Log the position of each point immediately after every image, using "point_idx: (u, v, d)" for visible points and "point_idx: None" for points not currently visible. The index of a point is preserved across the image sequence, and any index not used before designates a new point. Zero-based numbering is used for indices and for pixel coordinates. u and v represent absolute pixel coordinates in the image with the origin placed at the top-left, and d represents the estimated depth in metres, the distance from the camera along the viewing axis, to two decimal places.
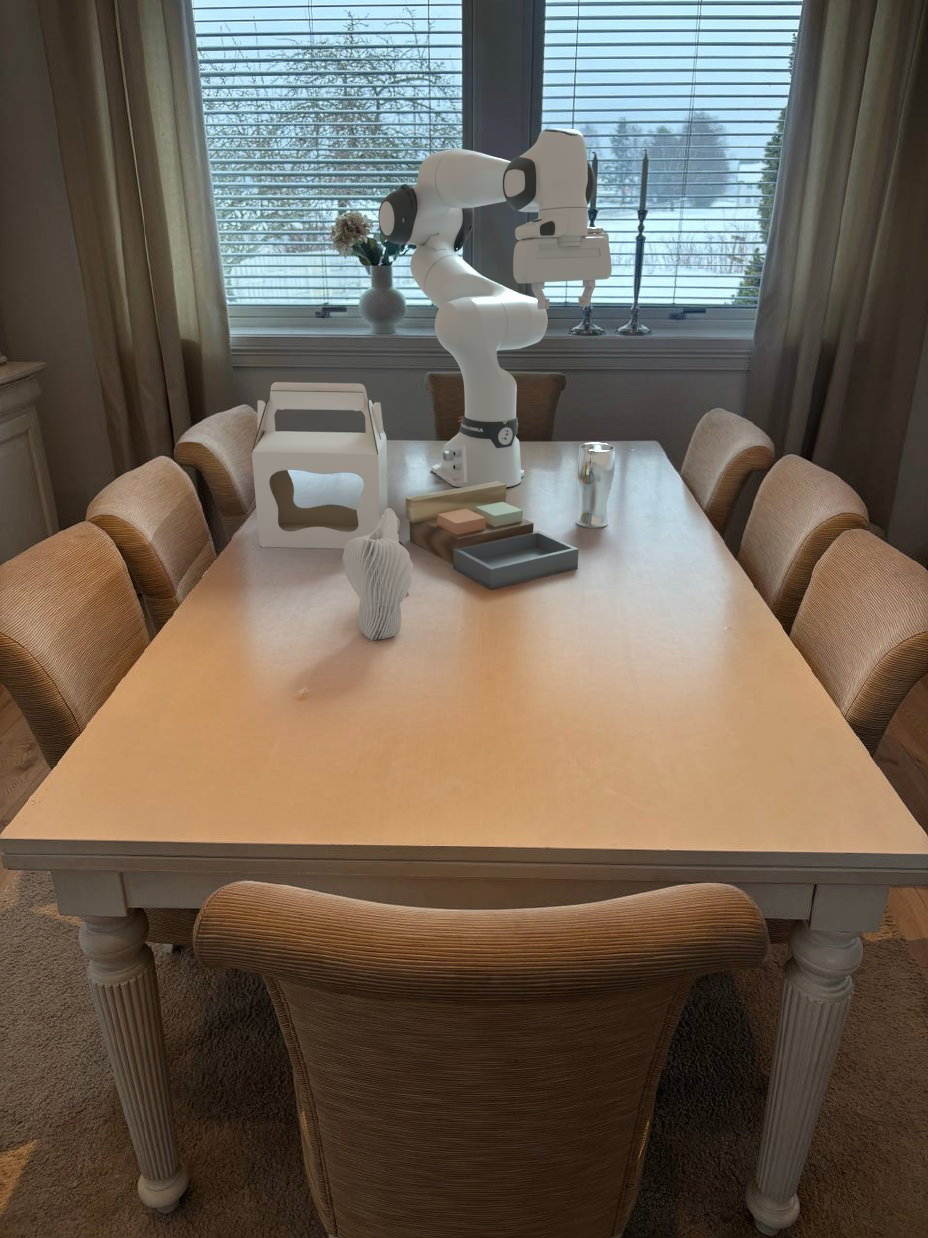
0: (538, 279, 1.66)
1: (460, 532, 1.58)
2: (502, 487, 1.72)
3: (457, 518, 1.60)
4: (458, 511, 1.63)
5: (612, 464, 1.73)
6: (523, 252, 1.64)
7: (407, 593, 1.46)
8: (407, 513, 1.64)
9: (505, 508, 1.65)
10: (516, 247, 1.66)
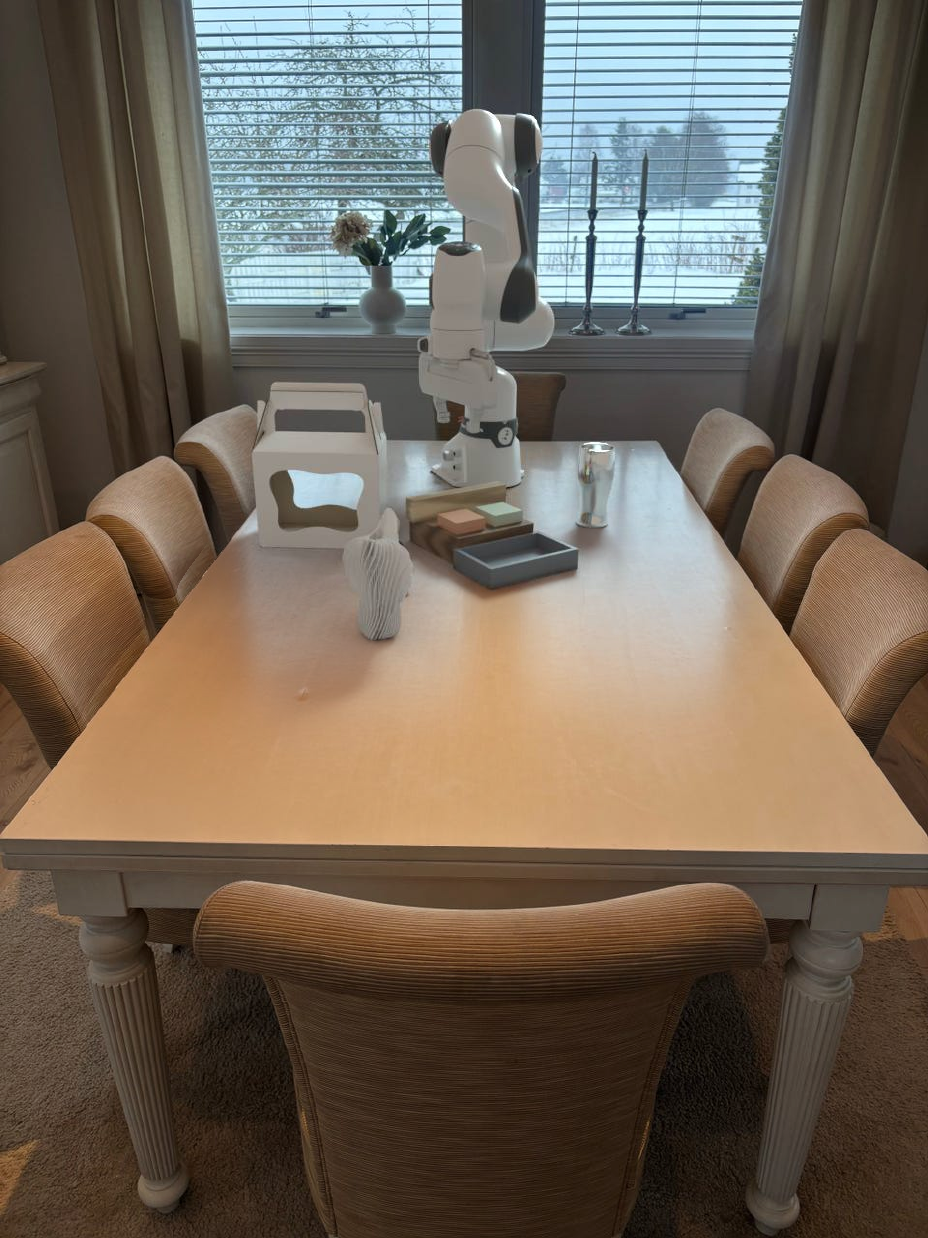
0: (428, 392, 1.65)
1: (460, 532, 1.58)
2: (502, 487, 1.72)
3: (457, 518, 1.60)
4: (458, 511, 1.63)
5: (612, 464, 1.73)
6: None
7: (407, 593, 1.46)
8: (407, 513, 1.64)
9: (505, 508, 1.65)
10: None
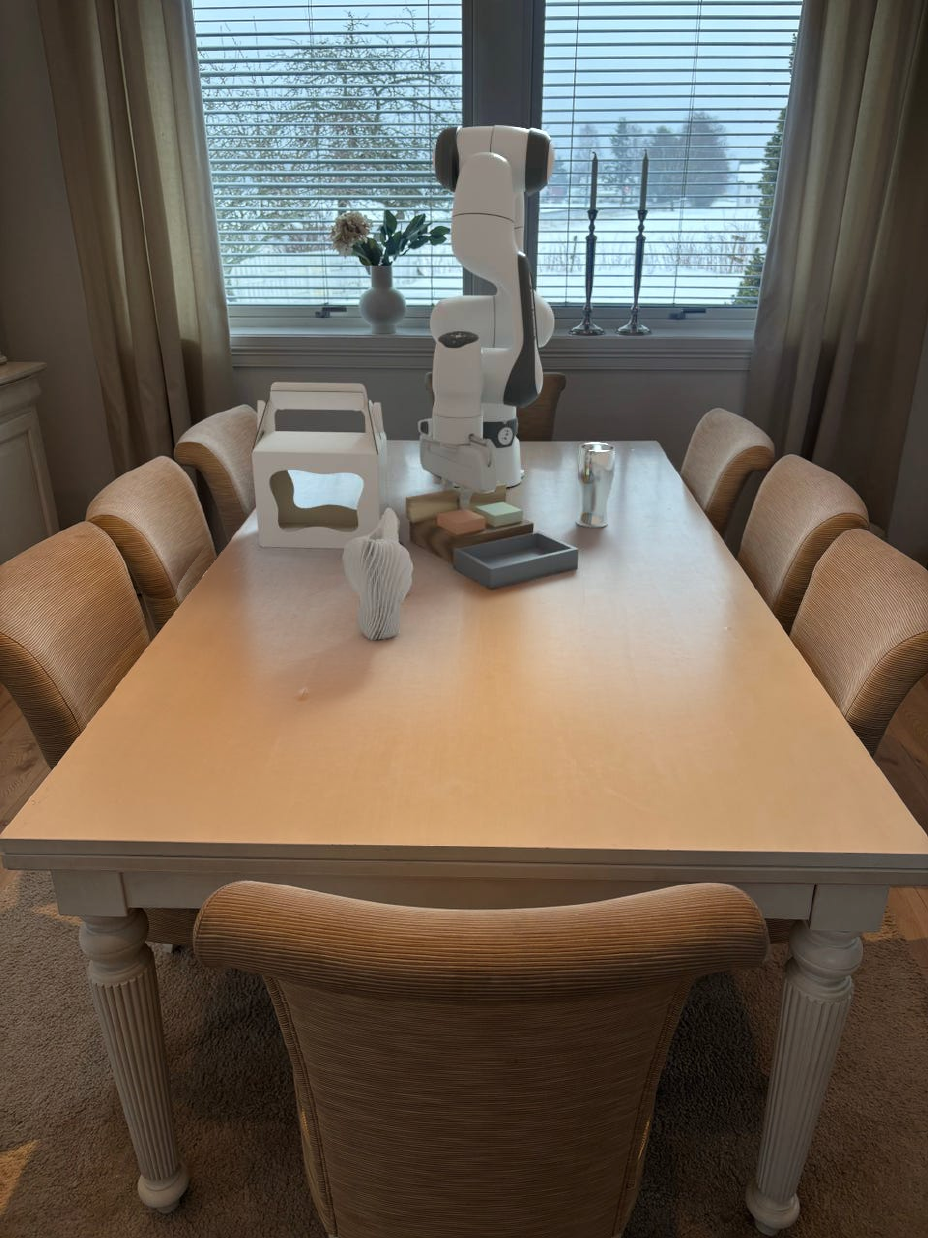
0: (428, 470, 1.71)
1: (460, 532, 1.58)
2: (502, 487, 1.72)
3: (457, 518, 1.60)
4: (458, 511, 1.63)
5: (612, 464, 1.73)
6: None
7: (407, 593, 1.46)
8: (407, 513, 1.64)
9: (505, 508, 1.65)
10: None
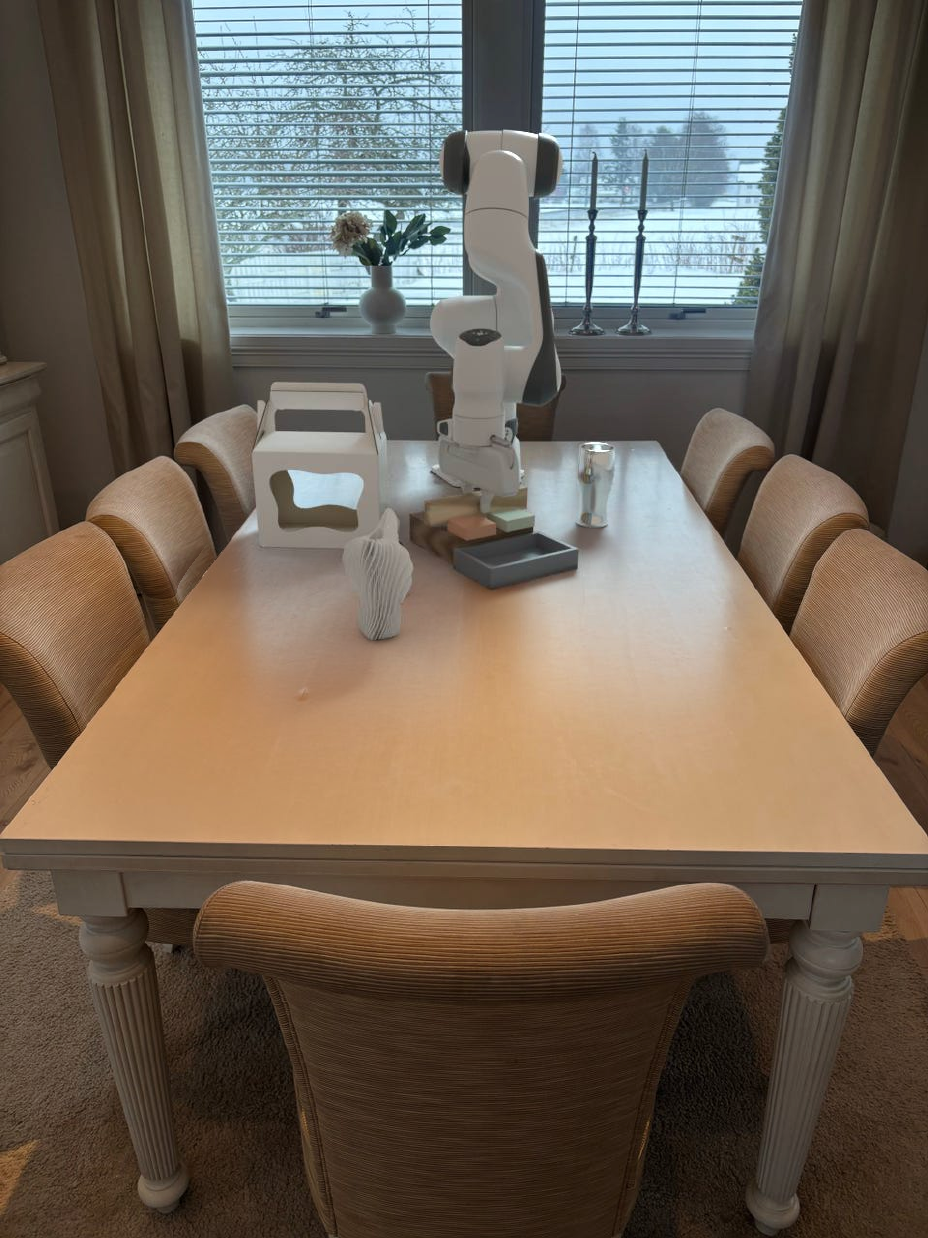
0: (447, 472, 1.65)
1: (470, 538, 1.56)
2: (523, 490, 1.66)
3: (467, 523, 1.57)
4: (468, 516, 1.60)
5: (612, 464, 1.73)
6: None
7: (407, 593, 1.46)
8: (426, 517, 1.59)
9: (517, 513, 1.62)
10: None
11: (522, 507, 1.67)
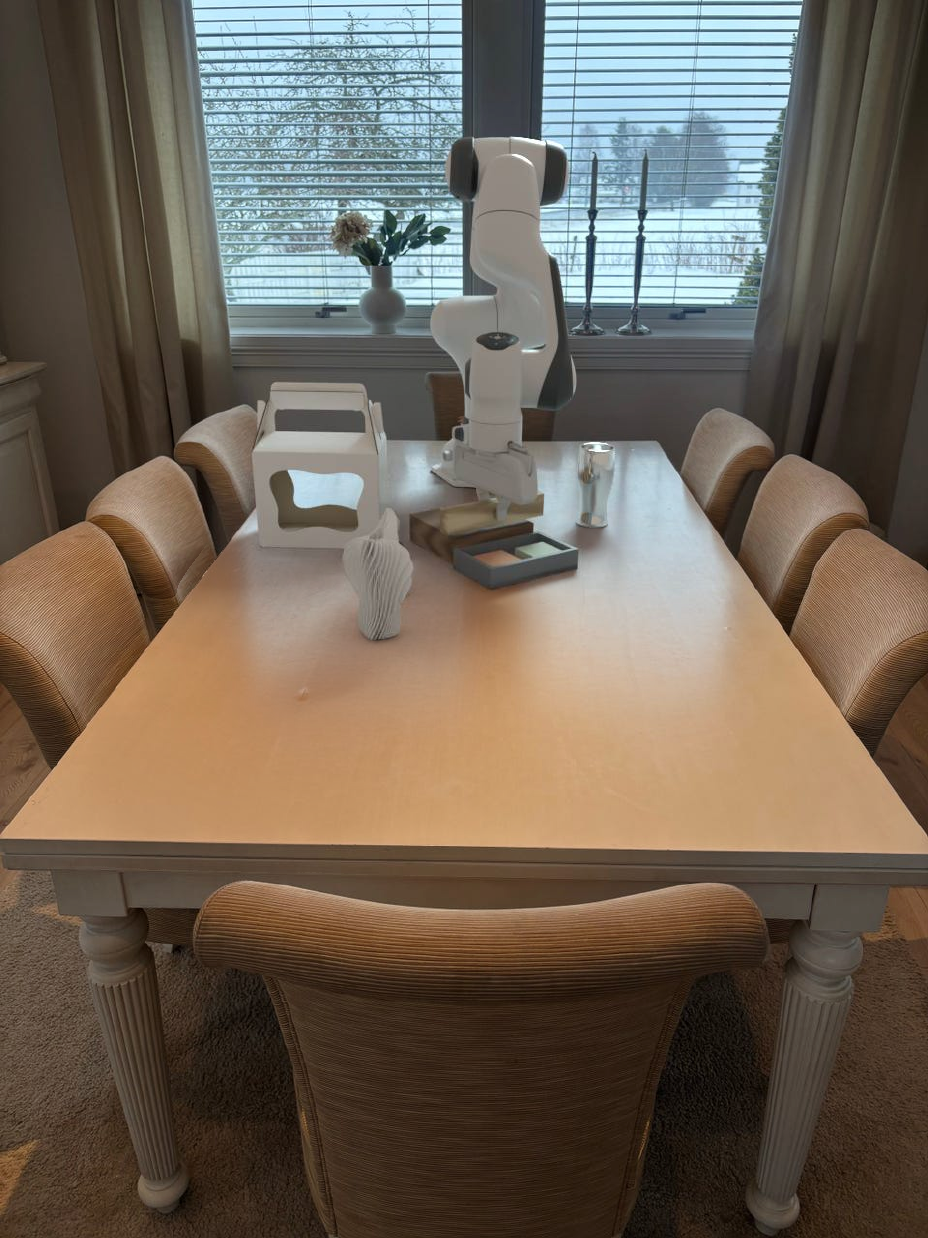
0: (462, 479, 1.62)
1: None
2: (539, 496, 1.62)
3: None
4: None
5: (612, 464, 1.73)
6: None
7: (407, 593, 1.46)
8: (441, 525, 1.55)
9: None
10: None
11: (539, 514, 1.64)
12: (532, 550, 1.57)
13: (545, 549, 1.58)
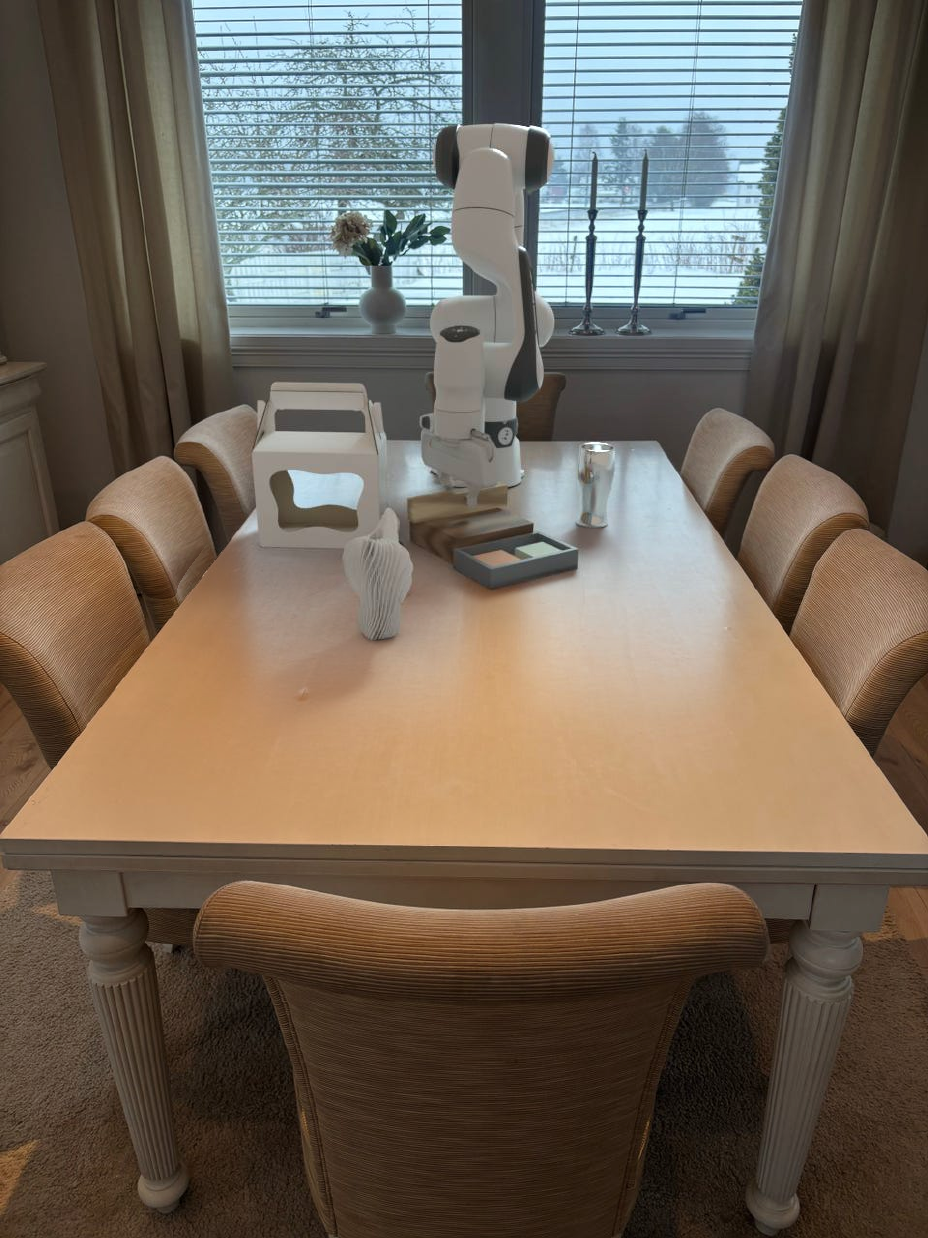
0: (430, 465, 1.70)
1: None
2: (503, 487, 1.71)
3: None
4: None
5: (612, 464, 1.73)
6: None
7: (407, 593, 1.46)
8: (408, 514, 1.64)
9: None
10: None
11: (503, 504, 1.72)
12: (532, 550, 1.57)
13: (545, 549, 1.58)
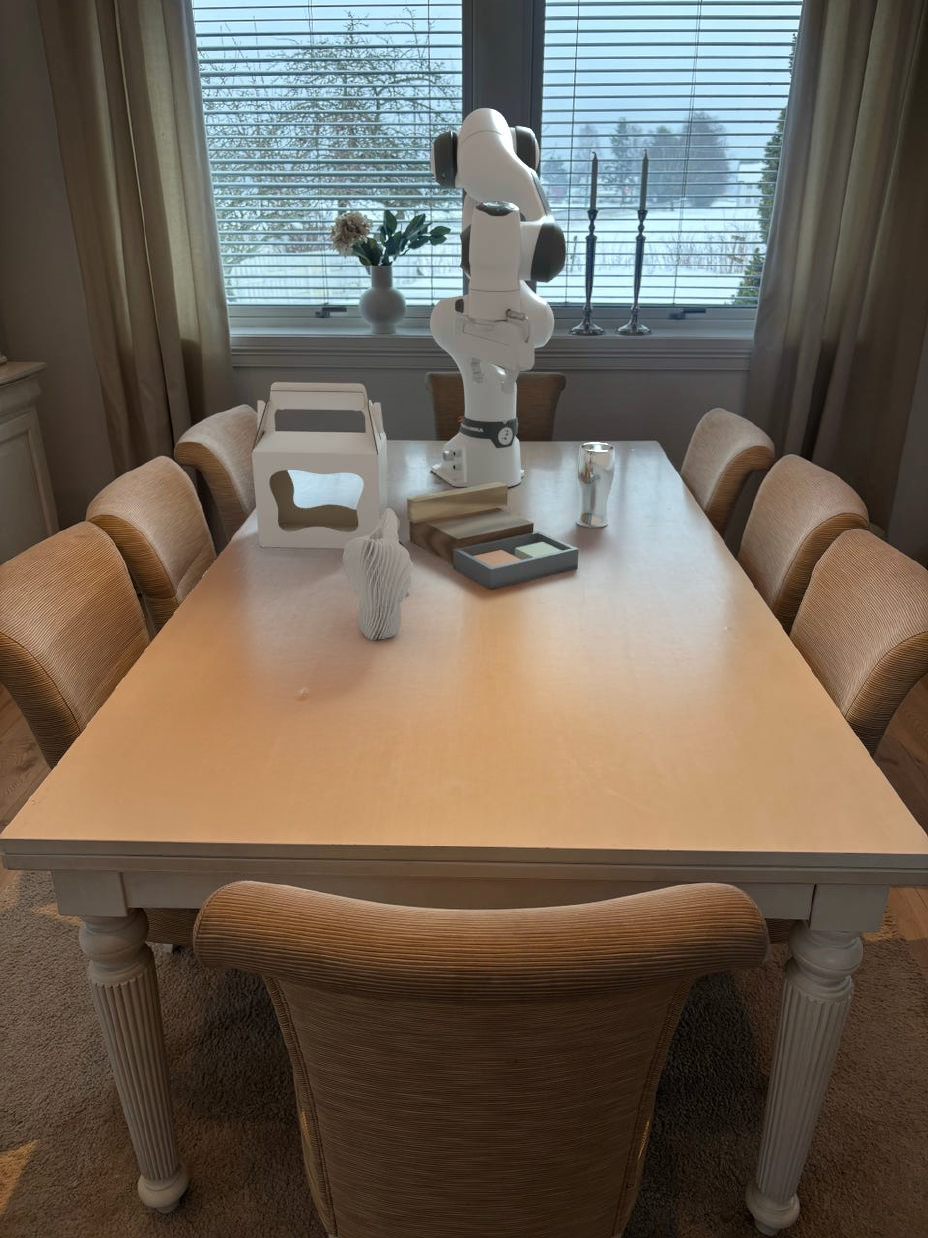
0: (462, 352, 1.67)
1: None
2: (503, 487, 1.71)
3: None
4: None
5: (612, 464, 1.73)
6: None
7: (407, 593, 1.46)
8: (408, 514, 1.64)
9: None
10: None
11: (503, 504, 1.72)
12: (532, 550, 1.57)
13: (545, 549, 1.58)
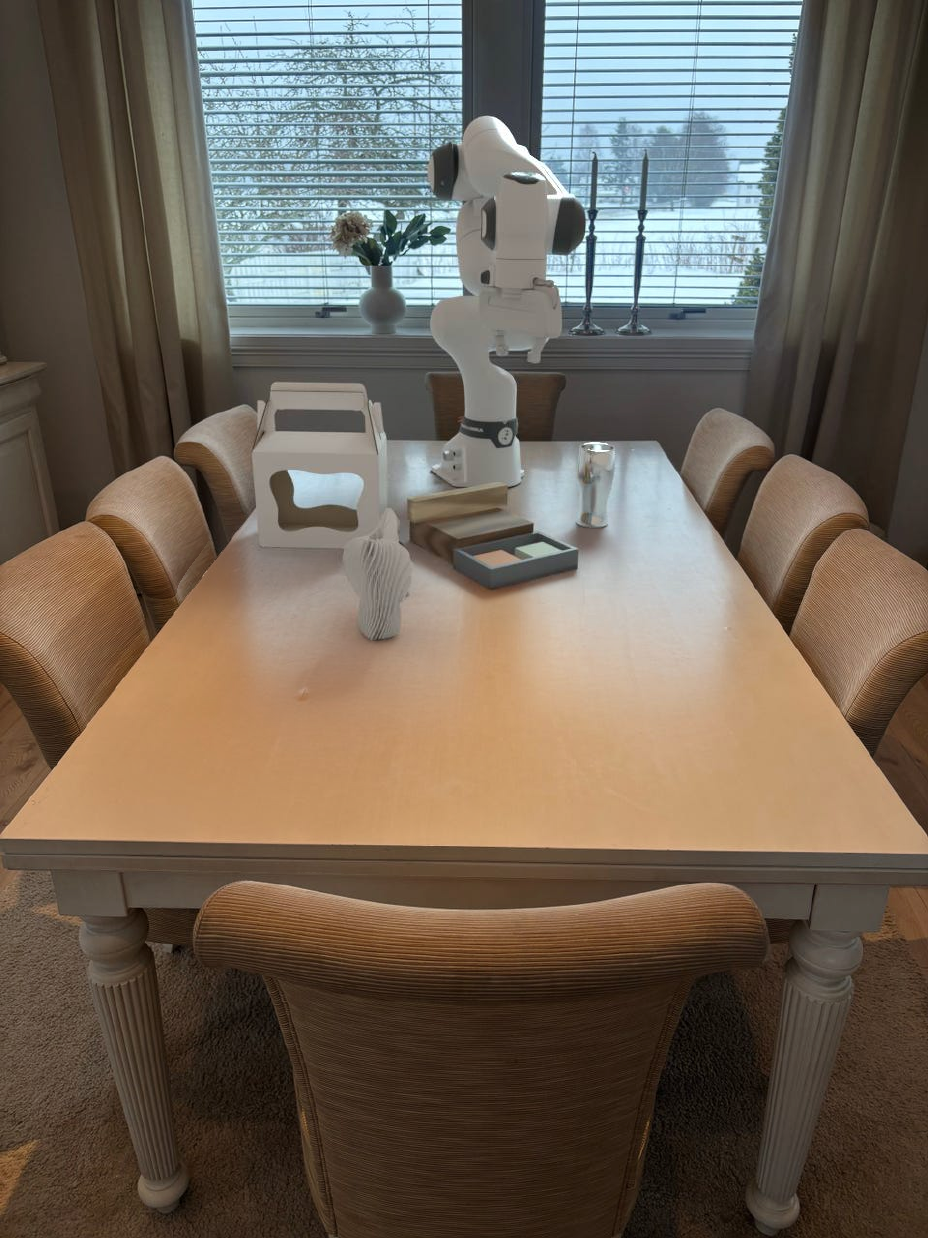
0: (487, 325, 1.68)
1: None
2: (503, 487, 1.71)
3: None
4: None
5: (612, 464, 1.73)
6: None
7: (407, 593, 1.46)
8: (408, 514, 1.64)
9: None
10: None
11: (503, 504, 1.72)
12: (532, 550, 1.57)
13: (545, 549, 1.58)
